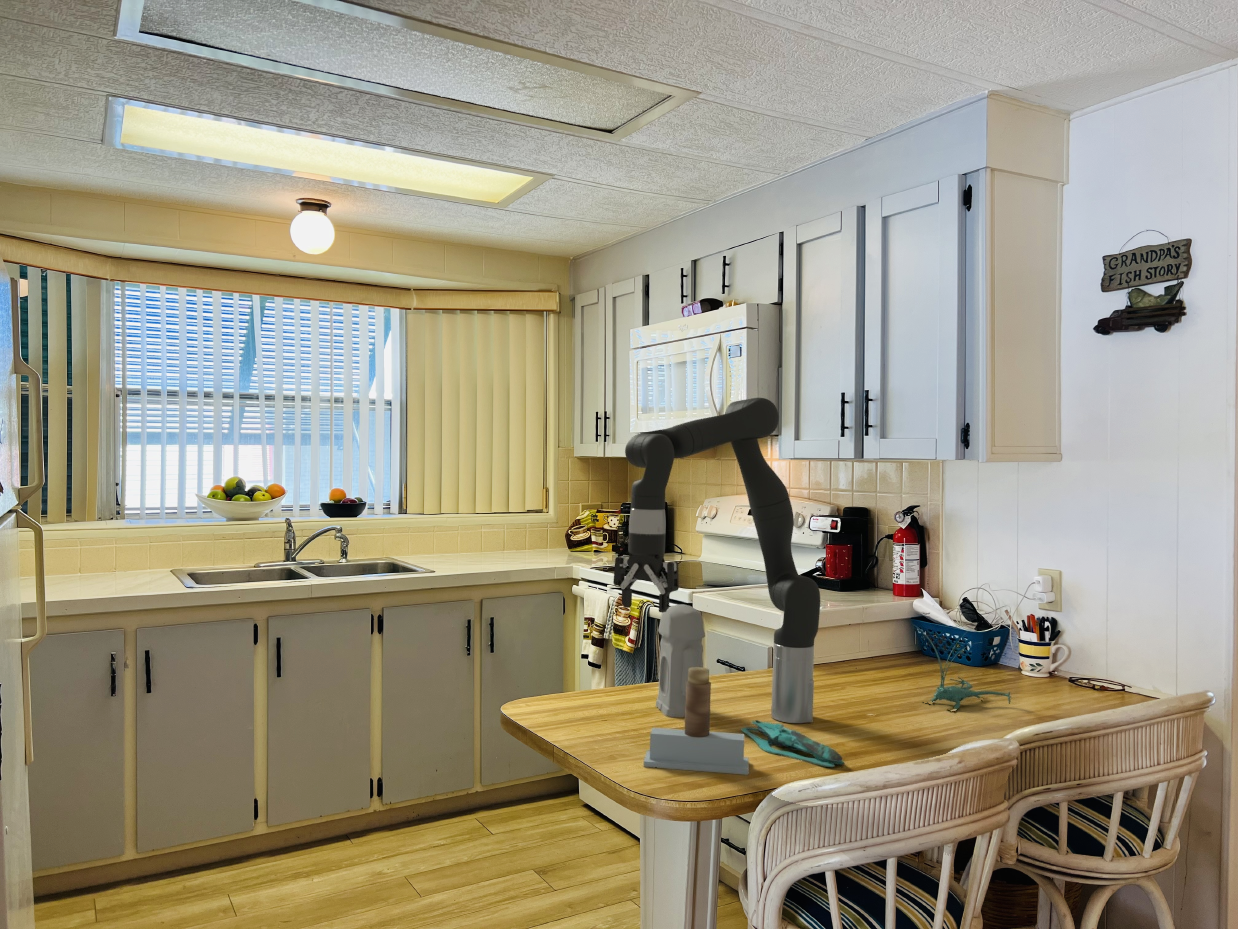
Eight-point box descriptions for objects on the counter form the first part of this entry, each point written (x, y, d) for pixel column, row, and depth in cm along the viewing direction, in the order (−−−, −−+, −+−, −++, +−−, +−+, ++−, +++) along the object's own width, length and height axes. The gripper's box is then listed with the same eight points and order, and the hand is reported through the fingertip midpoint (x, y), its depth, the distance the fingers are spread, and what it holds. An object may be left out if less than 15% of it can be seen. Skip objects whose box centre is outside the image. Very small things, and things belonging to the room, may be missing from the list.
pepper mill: (709, 730, 179) (711, 667, 179) (708, 738, 174) (710, 673, 174) (685, 729, 180) (687, 666, 180) (683, 736, 175) (685, 671, 175)
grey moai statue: (713, 717, 210) (717, 609, 209) (673, 721, 206) (677, 610, 205) (684, 700, 223) (687, 599, 223) (646, 704, 219) (649, 600, 219)
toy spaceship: (820, 779, 174) (821, 754, 174) (724, 735, 196) (725, 712, 196) (859, 769, 181) (861, 744, 180) (762, 727, 203) (763, 705, 203)
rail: (748, 762, 179) (749, 732, 179) (748, 774, 172) (749, 743, 172) (647, 754, 182) (648, 725, 182) (643, 766, 175) (644, 735, 175)
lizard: (882, 701, 230) (883, 620, 230) (952, 690, 242) (954, 613, 241) (953, 726, 210) (955, 637, 210) (1026, 713, 222) (1028, 628, 221)
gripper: (686, 532, 186) (683, 611, 186) (627, 527, 194) (625, 603, 194) (668, 534, 180) (665, 616, 180) (608, 529, 188) (605, 607, 188)
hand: (644, 609), depth 187 cm, fingers open, 8 cm apart
